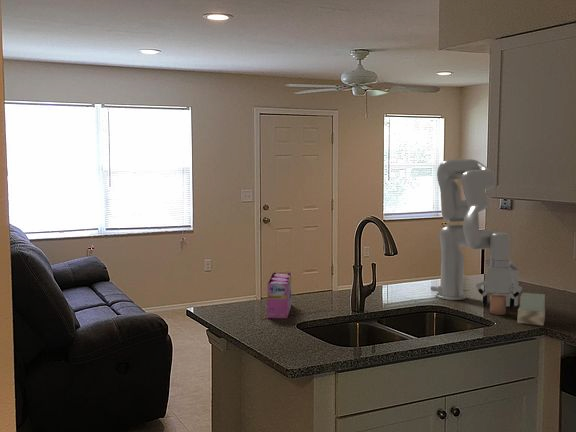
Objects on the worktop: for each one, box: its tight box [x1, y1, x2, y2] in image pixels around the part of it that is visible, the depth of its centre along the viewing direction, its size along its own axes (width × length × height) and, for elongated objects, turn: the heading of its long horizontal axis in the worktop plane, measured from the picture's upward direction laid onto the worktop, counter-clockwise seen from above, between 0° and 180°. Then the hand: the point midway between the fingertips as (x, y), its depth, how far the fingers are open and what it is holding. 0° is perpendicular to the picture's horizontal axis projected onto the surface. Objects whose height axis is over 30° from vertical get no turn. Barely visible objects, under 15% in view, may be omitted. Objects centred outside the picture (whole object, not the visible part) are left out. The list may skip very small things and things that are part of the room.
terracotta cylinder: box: [489, 293, 507, 316], centre depth 259 cm, size 6×6×7 cm
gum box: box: [266, 272, 293, 319], centre depth 261 cm, size 24×8×14 cm, turn 176°
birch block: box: [516, 305, 546, 326], centre depth 246 cm, size 9×9×5 cm
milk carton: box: [492, 260, 520, 308], centre depth 273 cm, size 7×7×19 cm
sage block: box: [519, 292, 546, 312], centre depth 246 cm, size 8×8×5 cm
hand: (498, 307), depth 259 cm, fingers open, 9 cm apart
